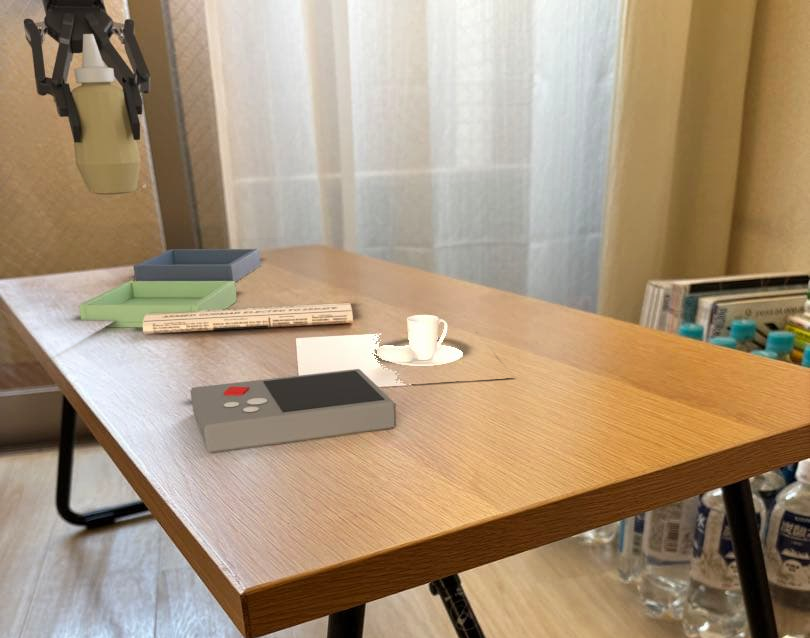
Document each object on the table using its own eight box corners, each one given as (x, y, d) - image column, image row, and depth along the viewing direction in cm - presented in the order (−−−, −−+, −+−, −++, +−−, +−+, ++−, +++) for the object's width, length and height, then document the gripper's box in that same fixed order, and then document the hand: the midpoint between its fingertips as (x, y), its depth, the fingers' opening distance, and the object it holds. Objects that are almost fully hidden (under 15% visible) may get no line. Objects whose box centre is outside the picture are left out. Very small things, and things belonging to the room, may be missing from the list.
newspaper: (144, 337, 100) (141, 320, 100) (151, 322, 107) (149, 307, 106) (353, 325, 103) (352, 310, 102) (348, 312, 109) (347, 297, 108)
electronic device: (189, 385, 75) (360, 365, 79) (193, 412, 76) (361, 392, 80) (203, 423, 66) (396, 399, 70) (208, 454, 68) (397, 429, 71)
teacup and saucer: (380, 373, 86) (378, 330, 84) (372, 351, 93) (370, 312, 91) (470, 367, 87) (470, 325, 85) (455, 347, 94) (455, 307, 92)
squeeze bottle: (154, 189, 120) (132, 34, 112) (132, 195, 112) (107, 31, 104) (95, 190, 120) (70, 37, 112) (70, 196, 113) (41, 33, 105)
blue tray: (136, 284, 130) (133, 265, 128) (171, 266, 143) (169, 249, 141) (233, 284, 128) (231, 265, 127) (260, 265, 141) (259, 248, 140)
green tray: (82, 327, 106) (78, 304, 105) (131, 300, 119) (127, 281, 118) (200, 327, 104) (197, 305, 103) (237, 301, 117) (234, 281, 116)
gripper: (146, 17, 123) (185, 151, 117) (-6, 16, 116) (27, 159, 110) (146, -34, 116) (187, 106, 110) (-15, -37, 110) (19, 111, 103)
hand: (107, 132), depth 110 cm, fingers closed on squeeze bottle, 6 cm apart
